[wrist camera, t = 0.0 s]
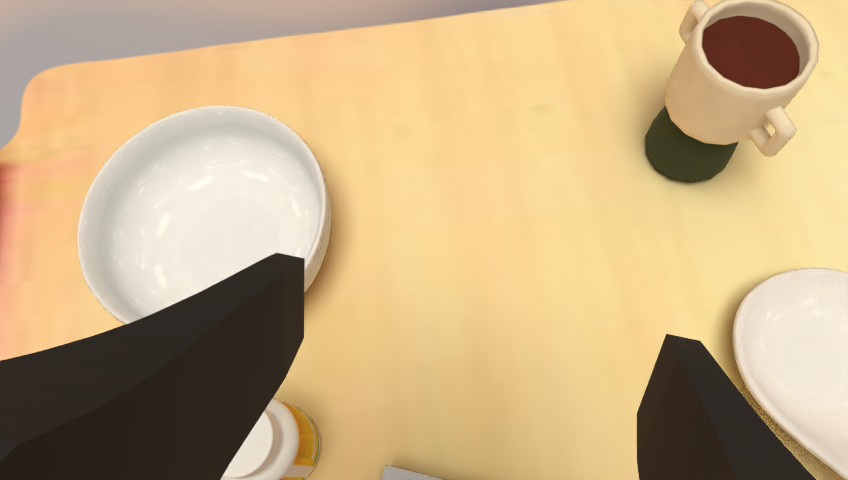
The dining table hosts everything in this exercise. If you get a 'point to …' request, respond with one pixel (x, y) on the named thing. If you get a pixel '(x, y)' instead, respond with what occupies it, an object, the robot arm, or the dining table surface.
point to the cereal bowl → (199, 208)
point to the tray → (405, 474)
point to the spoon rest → (799, 357)
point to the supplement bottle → (277, 446)
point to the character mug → (731, 85)
